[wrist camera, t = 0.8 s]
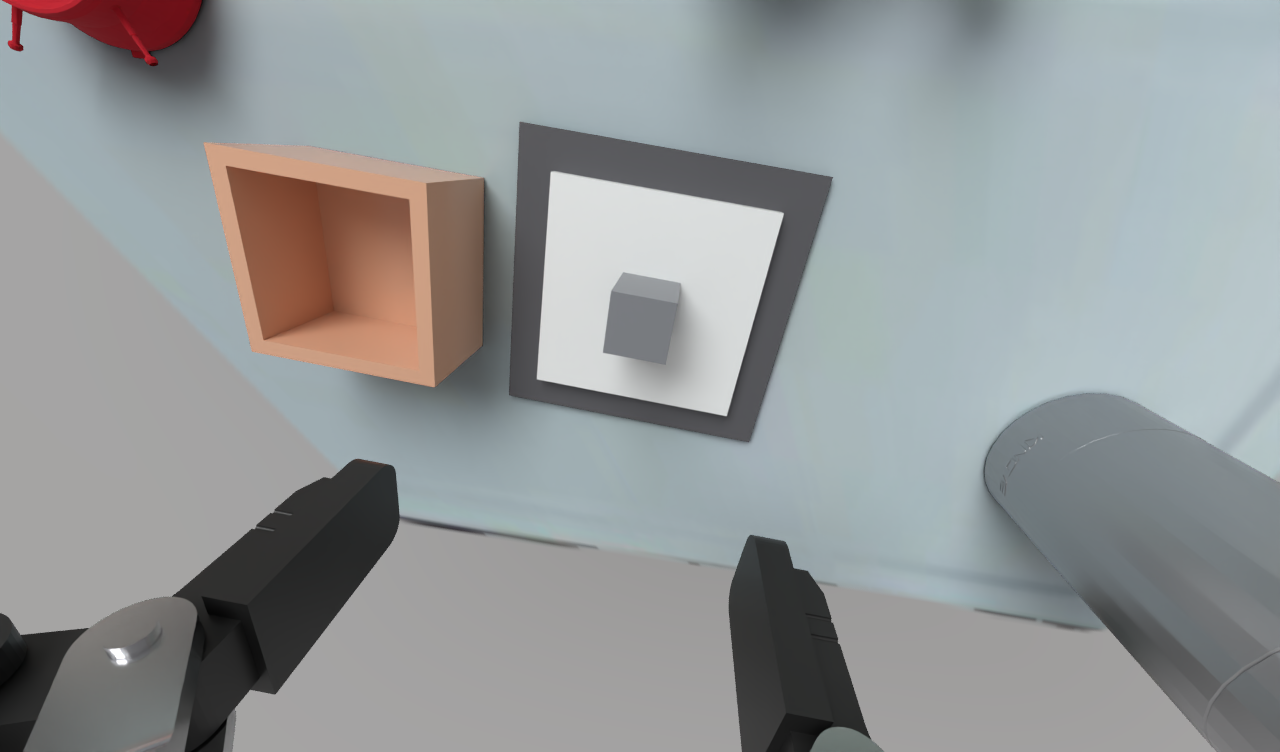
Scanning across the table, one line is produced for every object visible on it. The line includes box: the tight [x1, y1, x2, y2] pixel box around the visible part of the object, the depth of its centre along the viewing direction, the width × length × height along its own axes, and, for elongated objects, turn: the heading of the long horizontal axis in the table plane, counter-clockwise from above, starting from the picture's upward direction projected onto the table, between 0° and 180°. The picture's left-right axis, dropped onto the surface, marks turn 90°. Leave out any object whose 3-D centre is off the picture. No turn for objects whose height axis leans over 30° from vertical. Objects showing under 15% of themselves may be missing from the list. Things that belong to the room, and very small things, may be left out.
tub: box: [204, 142, 484, 387], centre depth 25 cm, size 10×10×6 cm
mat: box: [509, 122, 833, 442], centre depth 27 cm, size 16×16×1 cm
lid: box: [537, 171, 784, 416], centre depth 24 cm, size 12×12×5 cm
